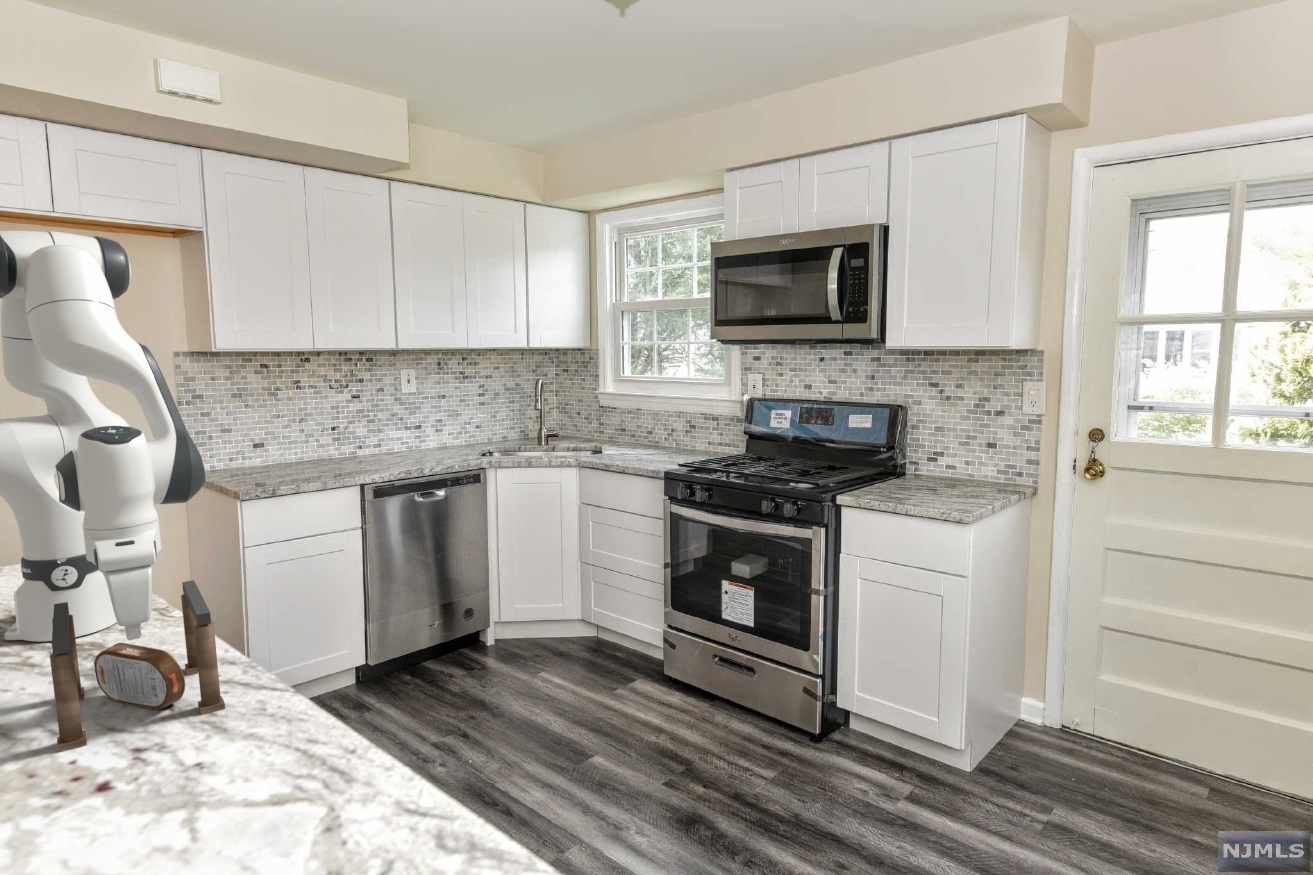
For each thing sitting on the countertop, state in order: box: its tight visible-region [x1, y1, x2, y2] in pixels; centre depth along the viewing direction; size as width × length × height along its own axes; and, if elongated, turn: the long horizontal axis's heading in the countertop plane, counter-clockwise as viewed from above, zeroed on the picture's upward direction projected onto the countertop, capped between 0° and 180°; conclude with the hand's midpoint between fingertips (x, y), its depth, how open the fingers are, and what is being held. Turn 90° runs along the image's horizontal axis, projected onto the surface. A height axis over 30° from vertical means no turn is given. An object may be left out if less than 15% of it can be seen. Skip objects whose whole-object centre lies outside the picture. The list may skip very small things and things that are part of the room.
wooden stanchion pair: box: [49, 593, 226, 753], centre depth 112 cm, size 19×19×12 cm
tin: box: [93, 642, 186, 711], centre depth 113 cm, size 15×3×8 cm, turn 71°
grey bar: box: [51, 602, 69, 655], centre depth 106 cm, size 18×2×2 cm, turn 37°
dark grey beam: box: [181, 579, 212, 626], centre depth 116 cm, size 18×2×2 cm, turn 37°
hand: (133, 636), depth 112 cm, fingers closed
